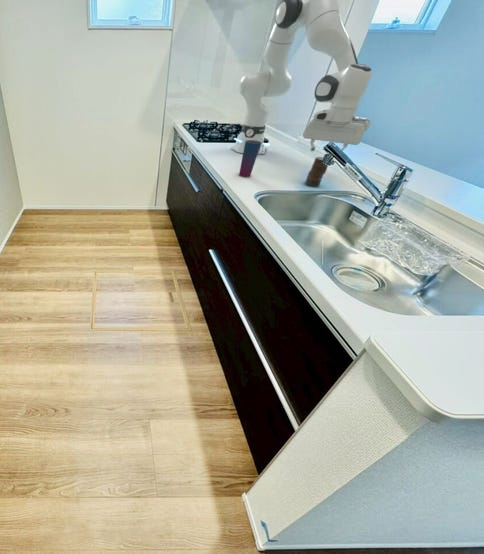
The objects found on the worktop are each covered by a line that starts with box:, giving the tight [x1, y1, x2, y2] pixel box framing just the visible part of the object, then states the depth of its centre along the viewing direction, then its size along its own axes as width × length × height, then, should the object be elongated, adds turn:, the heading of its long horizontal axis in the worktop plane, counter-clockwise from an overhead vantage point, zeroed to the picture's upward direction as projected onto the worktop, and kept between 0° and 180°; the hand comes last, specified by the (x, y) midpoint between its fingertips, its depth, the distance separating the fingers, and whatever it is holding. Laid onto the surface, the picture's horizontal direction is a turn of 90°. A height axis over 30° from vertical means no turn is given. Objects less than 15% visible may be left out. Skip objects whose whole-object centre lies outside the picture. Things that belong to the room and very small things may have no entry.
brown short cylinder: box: [312, 156, 328, 168], centre depth 125 cm, size 5×5×3 cm
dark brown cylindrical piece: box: [304, 164, 329, 188], centre depth 129 cm, size 6×6×8 cm
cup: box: [238, 140, 262, 178], centre depth 137 cm, size 7×7×15 cm
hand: (324, 152), depth 123 cm, fingers open, 8 cm apart
